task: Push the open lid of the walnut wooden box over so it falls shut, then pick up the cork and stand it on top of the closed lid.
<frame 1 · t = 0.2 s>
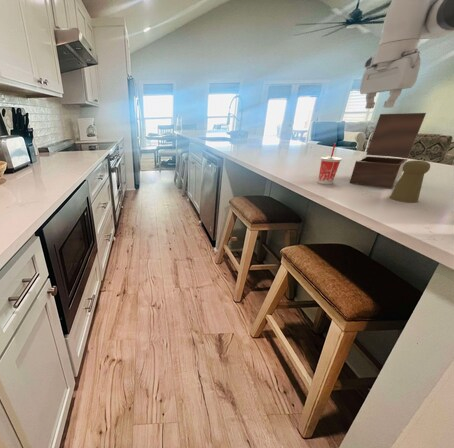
hand: (378, 108, 76), 25 cm above the countertop, tool pointing down, fingers open, 8 cm apart
lid: (394, 135, 86), point 15 cm above the countertop, hinge at 100.0°
chest: (374, 181, 88), on the countertop
beverage cup: (324, 183, 90), on the countertop
cork: (403, 199, 70), on the countertop
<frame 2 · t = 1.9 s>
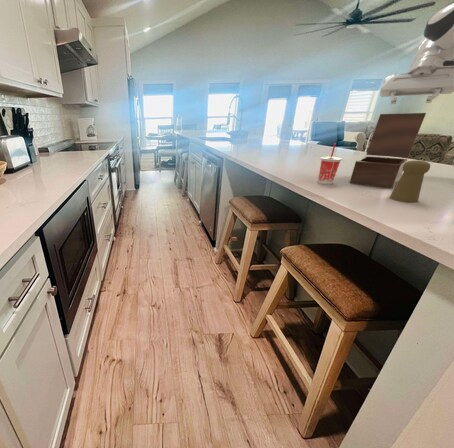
hand: (410, 102, 89), 26 cm above the countertop, tool tilted 45°, fingers open, 8 cm apart
nothing on the countertop moved.
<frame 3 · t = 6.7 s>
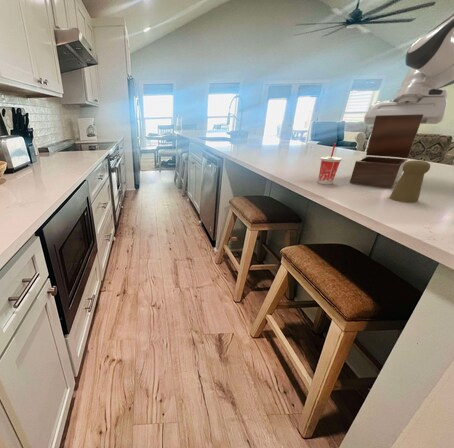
hand: (394, 131, 84), 17 cm above the countertop, tool tilted 45°, fingers closed
lid: (392, 136, 84), point 15 cm above the countertop, hinge at 74.9°, touching gripper
everything else where it was.
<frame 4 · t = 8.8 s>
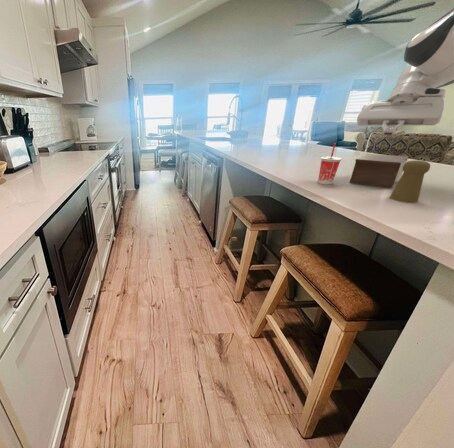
hand: (388, 133, 78), 17 cm above the countertop, tool tilted 45°, fingers closed
lid: (381, 158, 84), point 8 cm above the countertop, hinge at -0.2°
everything else where it was.
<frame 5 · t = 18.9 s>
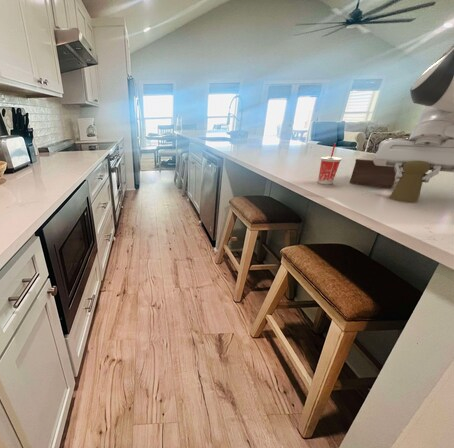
hand: (411, 179, 68), 6 cm above the countertop, tool tilted 45°, fingers closed on cork, 4 cm apart
cork: (403, 199, 70), on the countertop, touching gripper
everything else where it was.
when the fingers open (15 cm above the countertop, at t = 26.9 s): cork stays where it is, resting on lid.
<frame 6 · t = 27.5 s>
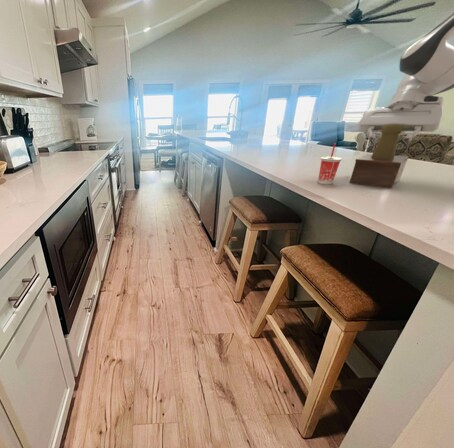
hand: (388, 139, 81), 15 cm above the countertop, tool tilted 45°, fingers open, 8 cm apart
lid: (381, 159, 84), point 8 cm above the countertop, hinge at -0.2°, touching chest, cork
cork: (382, 158, 84), point 8 cm above the countertop, touching lid
everything else where it was.
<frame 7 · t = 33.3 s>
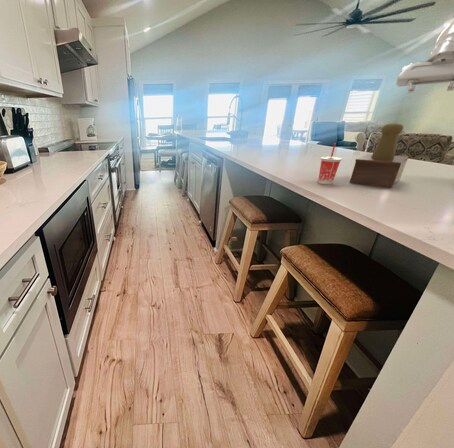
hand: (429, 90, 83), 29 cm above the countertop, tool tilted 45°, fingers open, 8 cm apart
nothing on the countertop moved.
at the end: lid at +0° (first picture: +100°); cork inside the target area on the chest (0.0 cm from its centre), point 8.4 cm above the chest's base; cork tilted 0° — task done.
